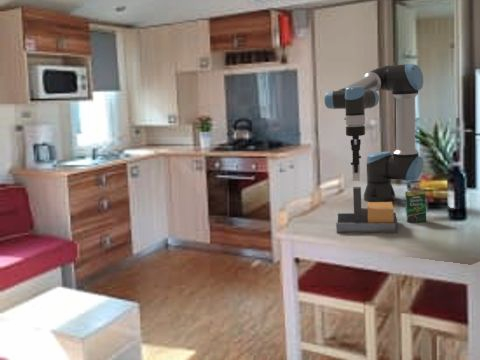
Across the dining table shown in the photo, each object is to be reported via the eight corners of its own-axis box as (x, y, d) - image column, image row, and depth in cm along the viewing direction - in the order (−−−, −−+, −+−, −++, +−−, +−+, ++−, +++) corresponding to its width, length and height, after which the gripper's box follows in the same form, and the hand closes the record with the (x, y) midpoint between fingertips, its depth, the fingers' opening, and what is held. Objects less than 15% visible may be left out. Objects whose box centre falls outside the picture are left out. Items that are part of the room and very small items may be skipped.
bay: (336, 233, 229) (336, 223, 228) (338, 222, 244) (337, 213, 243) (397, 232, 223) (397, 223, 223) (395, 221, 239) (395, 212, 238)
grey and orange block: (354, 228, 229) (353, 190, 226) (354, 220, 240) (353, 184, 237) (393, 228, 225) (393, 190, 222) (392, 220, 237) (391, 183, 234)
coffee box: (406, 222, 237) (406, 192, 234) (405, 220, 239) (405, 190, 237) (426, 222, 235) (426, 191, 233) (425, 220, 238) (425, 190, 235)
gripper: (346, 122, 239) (347, 171, 243) (344, 129, 215) (346, 183, 219) (364, 122, 237) (365, 171, 241) (365, 128, 213) (366, 183, 217)
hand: (356, 177), depth 230 cm, fingers open, 13 cm apart
